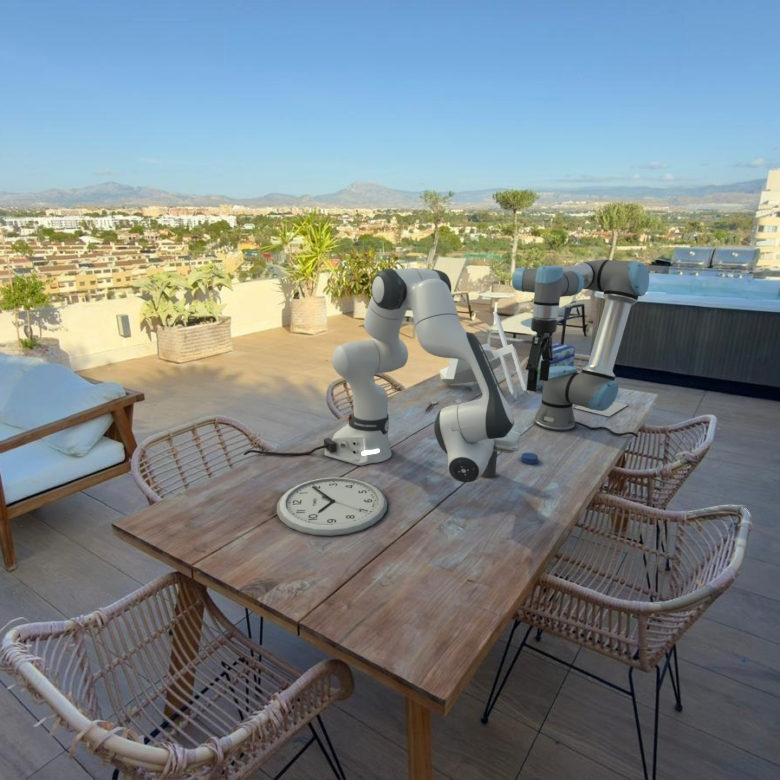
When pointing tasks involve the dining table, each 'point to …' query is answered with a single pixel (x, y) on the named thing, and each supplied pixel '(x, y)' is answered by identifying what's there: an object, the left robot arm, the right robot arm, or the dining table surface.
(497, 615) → the dining table surface
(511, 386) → the white plastic object
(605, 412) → the invitation card
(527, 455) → the lid
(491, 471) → the dark grey cylinder
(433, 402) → the fork
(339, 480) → the wall clock
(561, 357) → the lunch box
